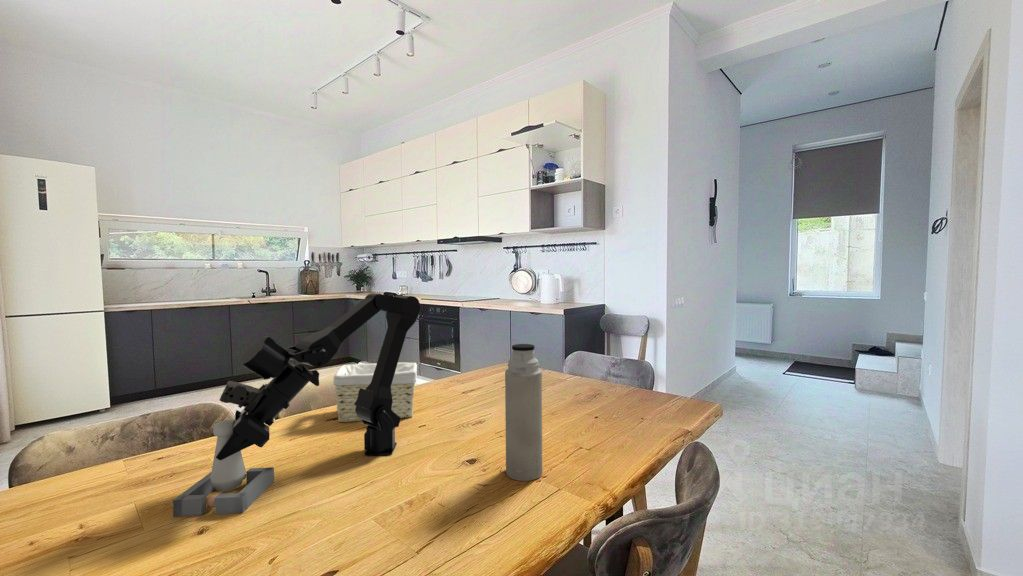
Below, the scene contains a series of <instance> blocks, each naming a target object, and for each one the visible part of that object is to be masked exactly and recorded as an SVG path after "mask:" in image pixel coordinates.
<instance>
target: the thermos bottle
mask: <svg viewBox="0 0 1023 576" xmlns="http://www.w3.org/2000/svg"><path fill="white" fill-rule="evenodd" d="M535 347H536V346H535V345H534V344H529V343H516V344H513V345H511V349H512V352H511V358H510V359H508V361H507V363H508V364H507V369H506V370H505V371H504V383H505V385H504V386H505V387H504V388H505V392H504V393H505V395H504V397H505V398H504V399H505V403H504V405H505V473H506V475H507V477H509V478H510V479H513V480H515V481H519V482H521V481H524V482H525V481H534V480H537V479H538V478H540V477H542V475H543V371H542V370H541V369H540V368H539V366H540V363H539V360H538V359H537V358H536V357H535Z"/></svg>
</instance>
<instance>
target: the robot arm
mask: <svg viewBox="0 0 1023 576" xmlns="http://www.w3.org/2000/svg"><path fill="white" fill-rule="evenodd" d="M421 310H422V304H421V303H420V300H419V299H418V298H417V297H416V296H414V295H393V296H391V295H385V294H383V293H374V292H373V293H369V294H367V295H366V296H364V299H362V300H361V301H360V302H358V303H357V304H356V305H355V306H353V307H351V308H350V309H349V310H348V311H347V312H345V314H342V316H341V317H339V318H338V319H337V320H335V321H334V322H333V323H331V324H330V325H329V326H327V327H325V328H323V329H321V330H318V331H315V332H312V333H311V334H310V335H307V336H305V337H304V338H301V339H300V340H299V341H298V342H297V343H296V344H295V345H292V346H288V347H285V348H284V347H282V346H281V345H279V344H278V343H277V342H276V341H275V340H274V339H273V338H272V337H270V336H266V335H265V336H263V337H262V338H261V339H260V340H258V341H256V342H255V343H253V344H252V345H251V346H250V347H247V349H245V351H244V352H243V354H242V355H241V357H240V359H239V364H240V365H241V366H243V367H244V368H246V369H247V370H249V371H250V372H252V373H254V374H256V375H257V376H259V377H260V378H262V379H263V380H269V379H271V380H270V381H269V382H268V383H263V384H262V385H261V386H260V387H259V388H257V387H255V386H251V385H249V384H245V383H240V382H237V381H234V380H227V383H226V385H225V387H224V389H223V391H222V393H221V395H220V398H219V402H222V403H224V404H233V405H238V406H237V407H238V408H240V409H241V408H243V409H242V410H241V411H240V410H235V414H234V420H237V421H236V422H235V421H233V425H232V428H233V433H232V435H231V436H230V438H229V439H228V440H227V442H226V443H225V445H224V446H223V447H222V449H221V450H220V452H219V453H218V454H217V456H216V458H217V459H218V460H223V459H225V458H227V457H229V456H231V455H233V454H235V453H237V452H239V451H241V452H242V451H243V450H245V449H247V448H249V447H251V446H253V445H254V446H255V445H256V446H257V447H259V448H263V447H264V446H265V445H266V444H267V442H268V441H270V427H271V426H272V425H273V424H274V421H275V420H274V419H275V418H277V416H278V415H279V414H280V413H281V412H282V411H283V410H287V409H288V408H289V407H290V403H291V402H292V400H293V399H294V398H295V397H296V396H297V395H298V394H299V393H300V392H301V391H302V390H303V389H304V388H305V387H306V386H307V385H308V383H311V384H313V385H314V386H315V387H319V386H320V372H319V371H318V370H317V369H314V370H310V369H308V368H307V366H305V365H308V366H311V367H315V368H316V367H317V368H320V367H321V368H322V367H324V366H325V365H327V364H329V363H330V361H331V360H333V358H334V357H335V356H336V355H337V353H338V352H339V350H340V348H341V346H342V344H343V343H344V342H345V341H346V340H347V339H348V338H349V337H351V336H352V335H353V334H354V333H355V332H357V331H358V330H359V329H360V328H361V327H362V326H364V325H365V324H366V323H368V322H369V320H371V319H372V318H374V316H376V315H377V314H378V313H379V312H380V311H381V312H386V313H385V316H386V317H385V318H386V323H387V328H386V332H385V335H384V339H383V343H382V346H381V349H380V351H379V355H378V358H377V361H376V363H377V365H376V368H375V371H374V374H373V378H372V381H371V383H370V384H369V386H368V387H367V388H366V389H362V388H360V390H359V393H358V398H357V400H356V402H355V403H354V405H356V409H355V412H356V414H357V416H358V417H359V418H360V419H361V420H362V421H361V422H362V424H363V425H365V426H366V428H365V430H366V431H365V432H364V435H363V440H364V441H363V442H364V443H363V444H364V445H363V446H364V447H363V449H364V451H365V452H364V456H385V455H387V456H388V455H393V453H394V452H395V449H396V446H397V442H396V436H395V435H396V430H395V428H398V427H399V426H400V423H401V420H402V418H400V417H399V416H398V415H397V414H395V413H394V412H393V411H392V410H391V409H392V402H393V399H392V393H391V384H392V381H393V378H394V374H395V371H396V367H397V364H398V363H399V360H400V357H401V353H402V350H403V346H404V343H405V339H406V337H407V333H408V331H409V330H410V329H411V328H412V327H413V326H414V325H415V323H416V322H417V319H418V317H419V315H420V313H421ZM290 361H293V362H298V364H296V365H295V364H293V363H292V362H290ZM302 364H304V365H302Z"/></svg>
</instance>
